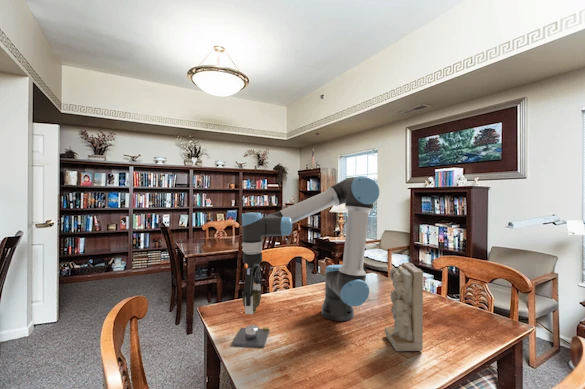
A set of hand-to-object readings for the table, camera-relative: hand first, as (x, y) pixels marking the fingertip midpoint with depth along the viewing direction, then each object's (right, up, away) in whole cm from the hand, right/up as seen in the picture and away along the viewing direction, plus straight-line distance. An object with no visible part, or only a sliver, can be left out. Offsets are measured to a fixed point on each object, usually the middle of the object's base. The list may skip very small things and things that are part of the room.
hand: (253, 306), depth 109 cm
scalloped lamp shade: (0, -1, -4) cm, 4 cm away
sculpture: (+57, -13, -4) cm, 59 cm away
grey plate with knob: (-1, -12, 0) cm, 12 cm away
